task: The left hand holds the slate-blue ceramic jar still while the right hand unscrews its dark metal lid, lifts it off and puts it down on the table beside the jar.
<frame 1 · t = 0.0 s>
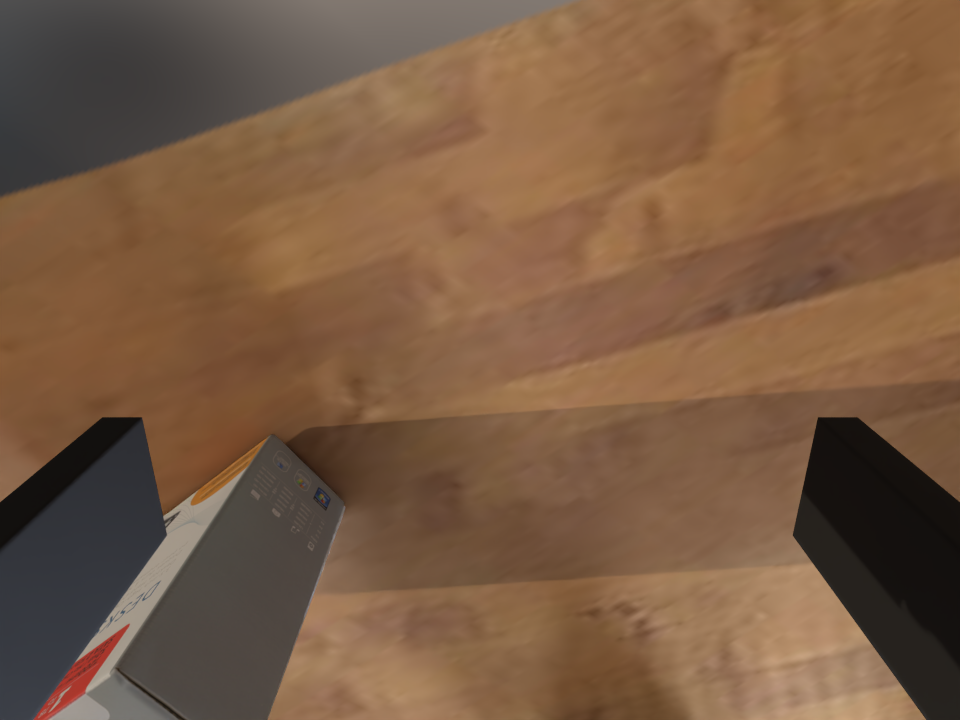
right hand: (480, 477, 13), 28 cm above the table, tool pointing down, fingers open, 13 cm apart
hard drive box: (235, 522, 47), on the table
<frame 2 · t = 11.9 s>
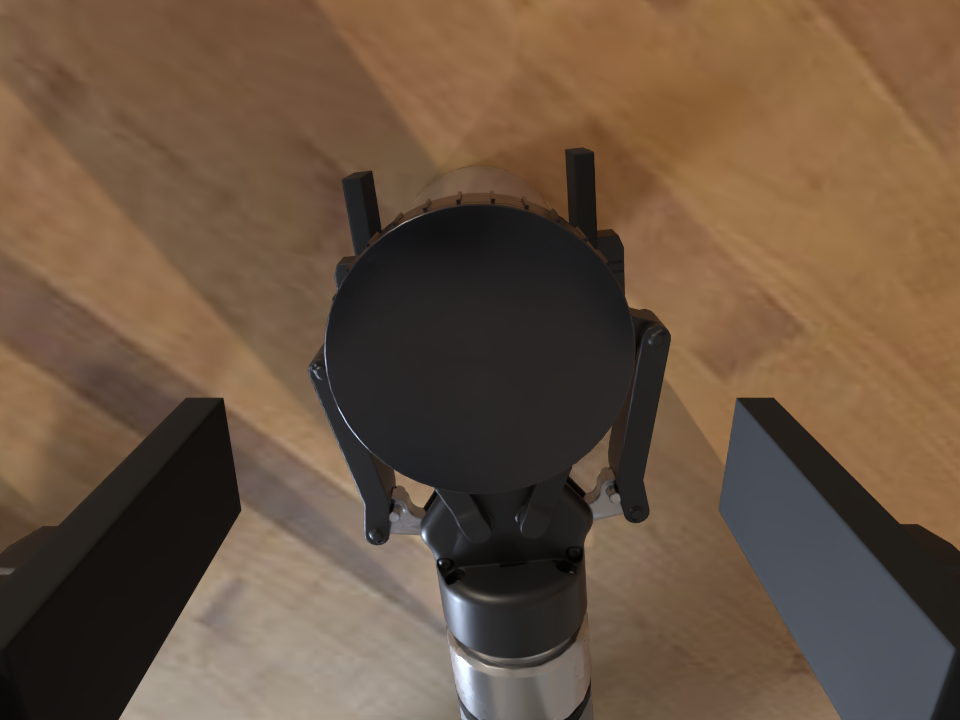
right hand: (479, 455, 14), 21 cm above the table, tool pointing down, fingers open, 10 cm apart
lid: (479, 357, 19), point 16 cm above the table, screwed on, not yet turned
jar: (479, 247, 33), on the table, touching left hand
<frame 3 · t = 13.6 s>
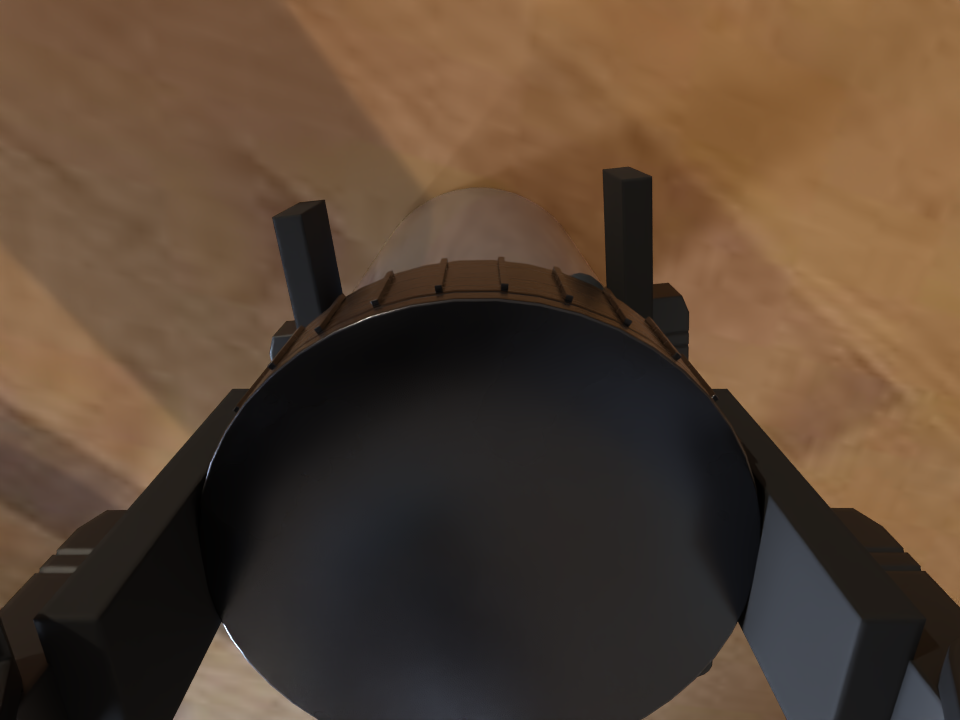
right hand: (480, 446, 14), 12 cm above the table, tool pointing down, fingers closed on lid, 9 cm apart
lid: (479, 553, 11), point 16 cm above the table, screwed on, not yet turned, touching right hand
jar: (479, 294, 25), on the table, touching left hand
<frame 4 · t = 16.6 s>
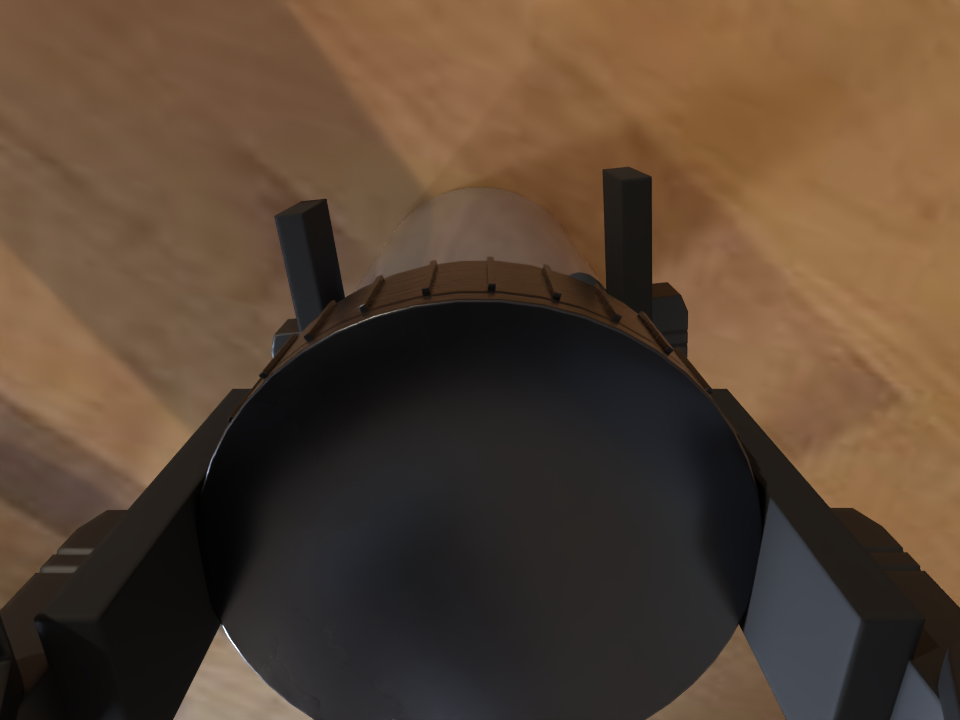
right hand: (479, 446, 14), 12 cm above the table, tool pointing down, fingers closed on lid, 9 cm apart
lid: (479, 554, 11), point 16 cm above the table, turned 74° so far, risen 0.2 cm, still on its thread, touching right hand
jar: (480, 294, 25), on the table, touching left hand
when the right hand's fingers open (0 cm above the table, at t = 23.3 s): lid drops 2 cm, point 2 cm above the table.
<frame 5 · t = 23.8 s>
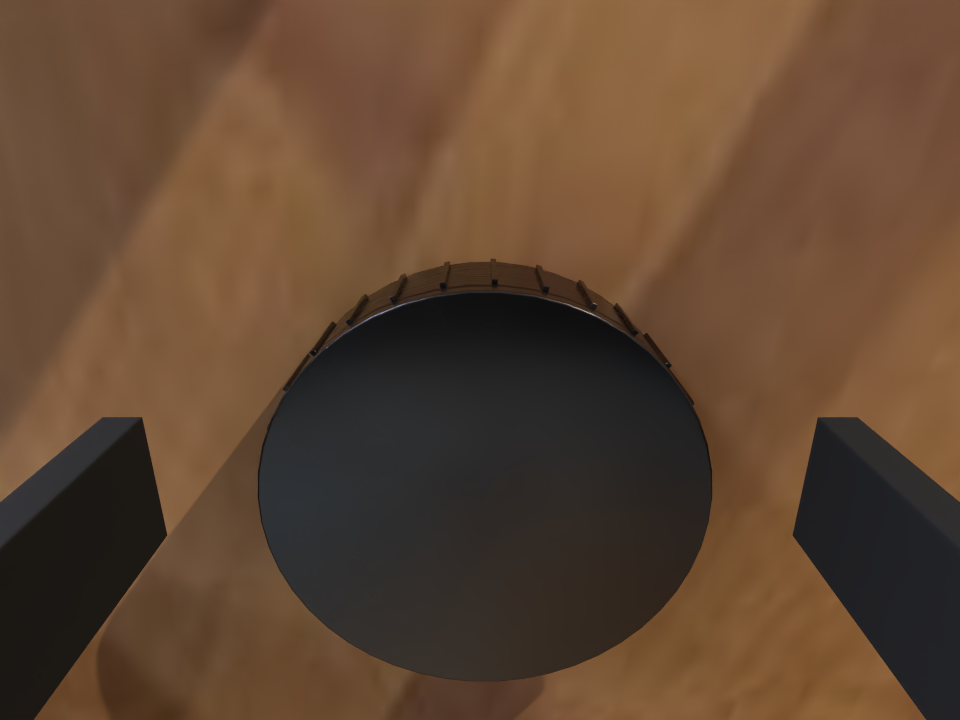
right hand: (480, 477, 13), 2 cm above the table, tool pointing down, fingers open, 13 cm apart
lid: (484, 500, 13), point 2 cm above the table, off its thread
when the left hand's fingers open (6 cm above the table, at t = 24.3 s): jar stays where it is, on the table.
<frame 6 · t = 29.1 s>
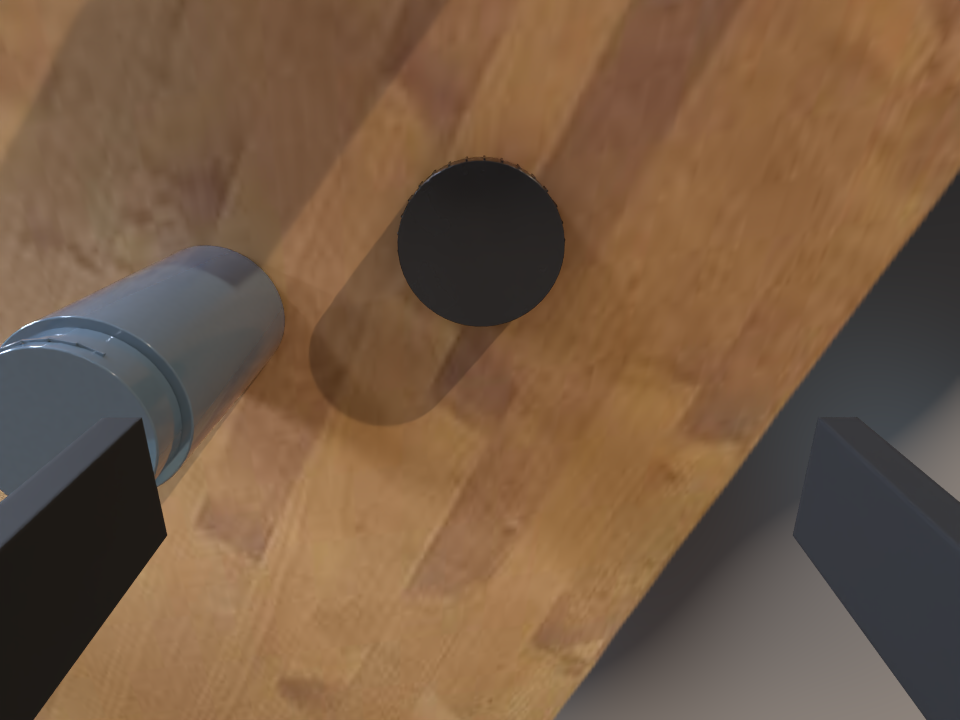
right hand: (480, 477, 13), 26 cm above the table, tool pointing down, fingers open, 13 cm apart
lid: (481, 246, 35), point 2 cm above the table, off its thread
jar: (216, 313, 38), on the table
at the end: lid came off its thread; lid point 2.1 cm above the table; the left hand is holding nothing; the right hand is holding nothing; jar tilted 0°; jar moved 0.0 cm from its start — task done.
